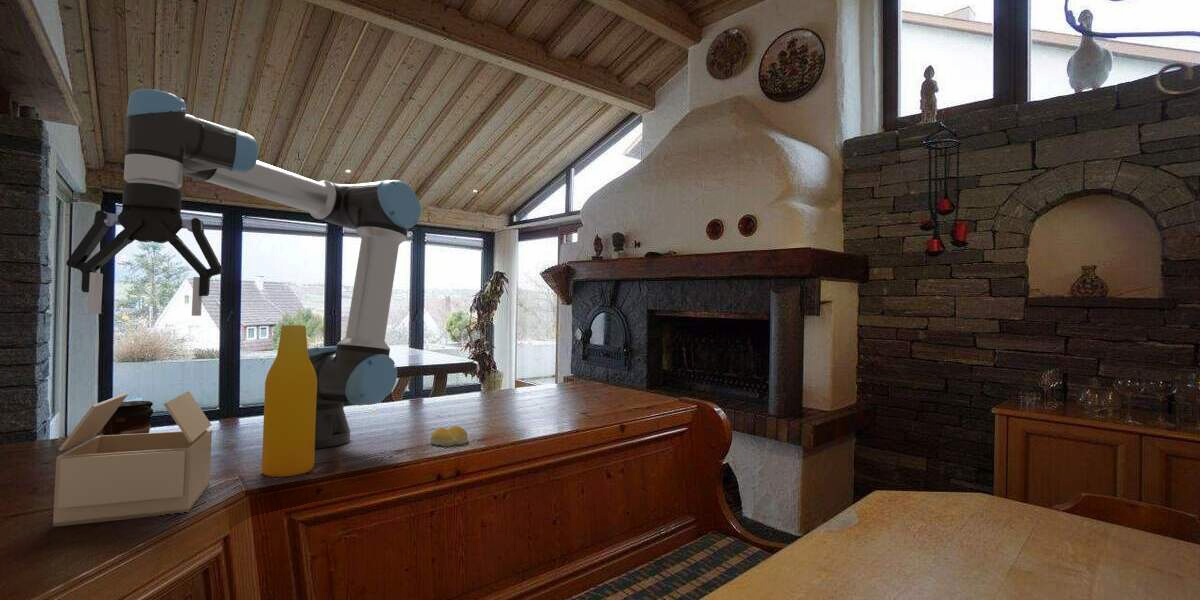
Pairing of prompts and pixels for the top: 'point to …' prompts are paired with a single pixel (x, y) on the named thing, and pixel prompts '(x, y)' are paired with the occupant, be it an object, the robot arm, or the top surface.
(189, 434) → the flap
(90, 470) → the carton
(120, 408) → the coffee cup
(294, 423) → the beer bottle
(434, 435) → the bread roll
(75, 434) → the flap
